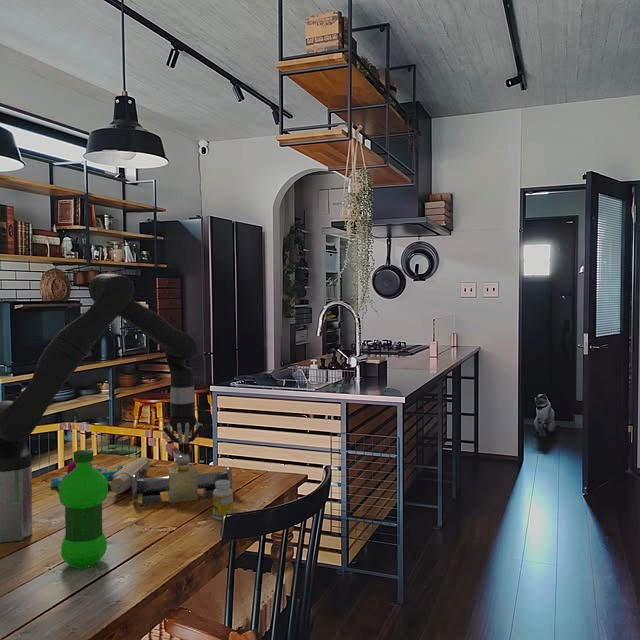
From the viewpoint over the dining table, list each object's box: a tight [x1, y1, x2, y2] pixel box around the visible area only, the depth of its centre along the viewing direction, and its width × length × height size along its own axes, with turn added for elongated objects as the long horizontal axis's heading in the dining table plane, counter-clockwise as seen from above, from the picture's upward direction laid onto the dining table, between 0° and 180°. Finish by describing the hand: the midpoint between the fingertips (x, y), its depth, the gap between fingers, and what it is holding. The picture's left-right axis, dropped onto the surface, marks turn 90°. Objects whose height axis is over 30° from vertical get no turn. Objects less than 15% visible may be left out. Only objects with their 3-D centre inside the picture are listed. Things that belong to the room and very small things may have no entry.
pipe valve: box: [131, 462, 233, 505], centre depth 181 cm, size 28×7×10 cm, turn 108°
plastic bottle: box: [58, 449, 109, 569], centre depth 136 cm, size 10×10×25 cm
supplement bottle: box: [212, 480, 234, 521], centre depth 165 cm, size 5×5×10 cm
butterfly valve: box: [50, 456, 151, 495], centre depth 191 cm, size 27×7×30 cm
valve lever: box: [165, 443, 190, 465], centre depth 187 cm, size 18×4×2 cm, turn 28°
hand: (183, 455), depth 193 cm, fingers closed
